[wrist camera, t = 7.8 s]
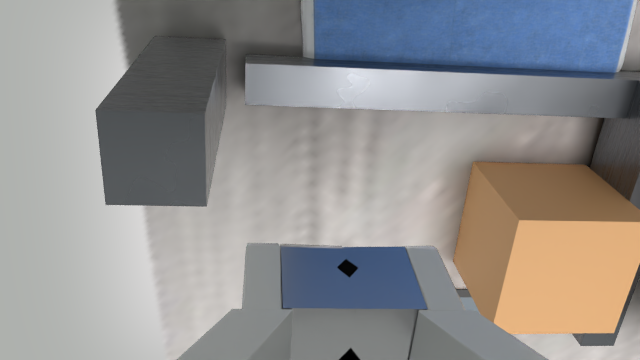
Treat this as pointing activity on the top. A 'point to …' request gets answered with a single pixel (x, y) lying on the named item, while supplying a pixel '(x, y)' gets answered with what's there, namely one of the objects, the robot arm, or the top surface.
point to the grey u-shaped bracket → (334, 92)
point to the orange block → (547, 247)
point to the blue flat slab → (471, 32)
